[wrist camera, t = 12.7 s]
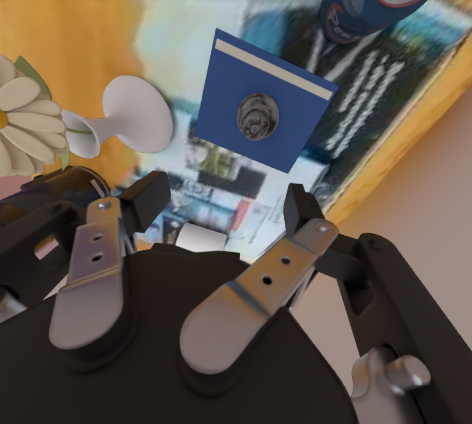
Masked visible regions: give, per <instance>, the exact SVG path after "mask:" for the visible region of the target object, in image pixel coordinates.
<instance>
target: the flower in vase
mask: <svg viewBox="0 0 472 424" xmlns="http://www.w3.org/2000/svg"><path fill="white" fill-rule="evenodd" d="M103 111H104V115H105V118H100V119H89V118H84V117H82V116H80V115H79V114H77V113H75V112H72V111H68V110H62V108H61V106H60V105H59V104H58V103H57V102H55V101H52V95H51V92H50V90H49V88H48V86H47V85H46V83H45V82H44V80H43V79H42V78H41V76H40V75H39V74H38V73H37V72H36V70H35V69H34V68H33V67H32V66H31V65H30V64H29V63H28V62H27V61H26V60H25V59H24V58H23V57H22V56H19V57H18V58H17V60H16V61H15V63H13V62H12V61H11V60H10V59H8V58H7V57H5V56H3V55H0V177H4V176H14V175H16V174H21V175H23V176H30V175H32V174H34V173H37V174H38V173H42V172H44V170H45V166H44V164H53V163H54V162H55V161H56V159H55V155H59V157H60V159H61V161H62V166H63V169H62V171H63V170H64V169H65V167H66V166H67V164H68V162H69V158H70V151H71V152H73V153H74V154H76V155H78V156H80V157H83V158H94V157H95V156H97V155H98V153H99V151H100V145H101V144H102V142H104V141H105V140H106V139H108V138H110V137H112V136H114V135H116V137H117V138H118V139H119V140H120V141H121V142H123V143H124V144H125V145H126V146H128V147H129V148H131V149H133V150H135V151H138V152H142V153H156V152H159V151H161V150H163V149H164V148H165V147H166V146H167V145H168V144H169V142H170V140H171V137H172V132H173V123H172V117H171V113H170V110H169V108H168V106H167V104H166V102H165V100H164V99H163V97H162V96H161V94H160V93H159V92H158V91H157V90H156V89H155V88H154V87H153V86H152V85H151V84H149V83H148V82H147V81H145V80H143V79H141V78H139V77H136V76H132V75H122V76H118V77H116V78H115V79H113V80H112V81H111V82H110V83H109V84H108V85H107V87H106V89H105V91H104V94H103ZM43 163H44V164H43Z"/></svg>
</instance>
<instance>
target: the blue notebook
mask: <svg viewBox="0 0 472 424" xmlns="http://www.w3.org/2000/svg"><path fill="white" fill-rule="evenodd" d="M338 88H339V86H338V85H336V84H333V83H331V82H329V81H327V80H325V79H323V78H321V77H319V76H316V75H314V74H312V73H310V72H308V71H306V70H304V69H302V68H300V67H297V66H295V65H293V64H291V63H289V62H287V61H285V60H283V59H281V58H278V57H276V56H274V55H272V54H270V53H268V52H266V51H264V50H262V49H259V48H257V47H255V46H253V45H251V44H249V43H247V42H245V41H243V40H240V39H238V38H236V37H234V36H232V35H230V34H228V33H226V32H224V31H221V30H219V29H217V28H216V32H215V37H214V41H213V46H212V51H211V56H210V61H209V66H208V71H207V76H206V81H205V86H204V91H203V96H202V101H201V106H200V111H199V116H198V121H197V126H196V130H195V136H196V137H199V138H201V139H204V140H206V141H209V142H211V143H214V144H216V145H218V146H221V147H223V148H226V149H228V150H231V151H233V152H236V153H238V154H241V155H243V156H245V157H248V158H250V159H253V160H255V161H258V162H260V163H263V164H265V165H268V166H270V167H272V168H275V169H277V170H280V171H282V172H285V173H287V174H288V173H289V171H290V170H291V168H292V166H293V165H294V163H295V161H296V159H297V158H298V156H299V154H300V153H301V151H302V149H303V147H304V146H305V144H306V142H307V141H308V139H309V137H310V136H311V134H312V132H313V130H314V129H315V127H316V125H317V124H318V122H319V120H320V118H321V117H322V115H323V113H324V112H325V110H326V108H327V107H328V105H329V103H330V101H331V100H332V98H333V96H334V95H335V93H336V91H337V90H338ZM255 93H263V94H266V95H268V96H270V97H271V98H272V99H273V100H274V101H275V103H276V105H277V107H278V111H279V120H278V124H277V126H276V128H275V130H274V131H273V133H272V134H271V135H269V136H268V137H266V138H264V139H261V140H257V141H252V140H249V139H248V138H247V137H246V136H245V135H243V134H242V132H241V131H240V129H239V127H238V124H237V112H238V108H239V106H240V104H241V103H242V101H243V100H244V99H245V98H246V97H248V96H250V95H252V94H255Z"/></svg>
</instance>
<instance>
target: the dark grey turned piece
mask: <svg viewBox="0 0 472 424" xmlns="http://www.w3.org/2000/svg"><path fill="white" fill-rule="evenodd" d="M278 120H279V111H278V107H277V105H276V103H275V101H274V100H273V99H272V98H271V97H270V96H268V95H266V94H263V93H255V94H252V95H250V96H248V97H246V98H245V99H244V100H243V101H242V103H241V104H240V106H239V108H238V112H237V124H238V127H239V129H240V131H241V132H242V134H243V135H245V136H246V137H247V138H248V139H249V140H252V141H257V140H261V139H264V138H266V137H268V136H269V135H271V134H272V133H273V131H274V130H275V128H276V126H277V124H278Z"/></svg>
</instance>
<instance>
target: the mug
mask: <svg viewBox="0 0 472 424" xmlns="http://www.w3.org/2000/svg"><path fill="white" fill-rule="evenodd" d="M226 237H227V236H226V235H225V234H222V233H219V232H215V231H212V230H209V229H206V228H203V227H199V226H196V225H193V224H190V223H185V224H184V226H183V227H182V229H181V231H180V234H179V236H178V239H177V241H176V246H179V247H182V248H185V249H187V250H190V251H193V252H205V251H217V250H219V251H223V249H224V245H225V242H226Z"/></svg>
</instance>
